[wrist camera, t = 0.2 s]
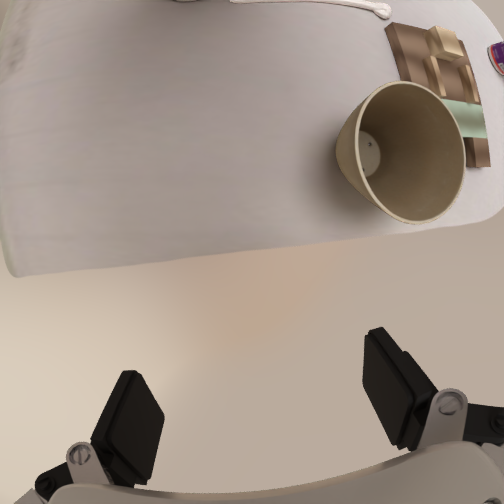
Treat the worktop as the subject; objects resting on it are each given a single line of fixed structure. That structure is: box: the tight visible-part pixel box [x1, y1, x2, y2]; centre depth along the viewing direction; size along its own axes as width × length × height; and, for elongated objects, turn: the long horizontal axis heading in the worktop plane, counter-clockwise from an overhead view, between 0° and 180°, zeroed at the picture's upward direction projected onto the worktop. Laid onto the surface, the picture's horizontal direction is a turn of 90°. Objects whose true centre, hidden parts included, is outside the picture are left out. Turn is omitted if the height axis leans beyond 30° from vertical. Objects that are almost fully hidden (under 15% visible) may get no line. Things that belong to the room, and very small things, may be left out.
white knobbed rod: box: [230, 0, 392, 19], centre depth 29 cm, size 28×4×3 cm, turn 98°
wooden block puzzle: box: [385, 22, 491, 167], centre depth 32 cm, size 26×18×6 cm
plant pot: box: [336, 81, 466, 224], centre depth 30 cm, size 15×15×16 cm
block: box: [423, 26, 463, 61], centre depth 27 cm, size 5×5×4 cm
